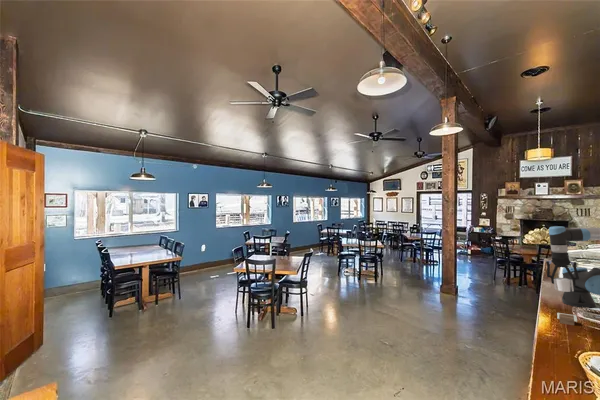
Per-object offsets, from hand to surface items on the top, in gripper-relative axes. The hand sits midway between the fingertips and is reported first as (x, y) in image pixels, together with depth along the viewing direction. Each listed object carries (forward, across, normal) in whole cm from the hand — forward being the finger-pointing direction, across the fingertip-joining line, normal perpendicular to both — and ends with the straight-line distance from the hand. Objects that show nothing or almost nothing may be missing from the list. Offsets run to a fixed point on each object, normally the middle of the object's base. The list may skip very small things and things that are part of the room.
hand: (564, 289), depth 167 cm
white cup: (+1, 0, 0) cm, 1 cm away
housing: (+13, 0, -24) cm, 27 cm away
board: (+13, 0, -14) cm, 19 cm away
